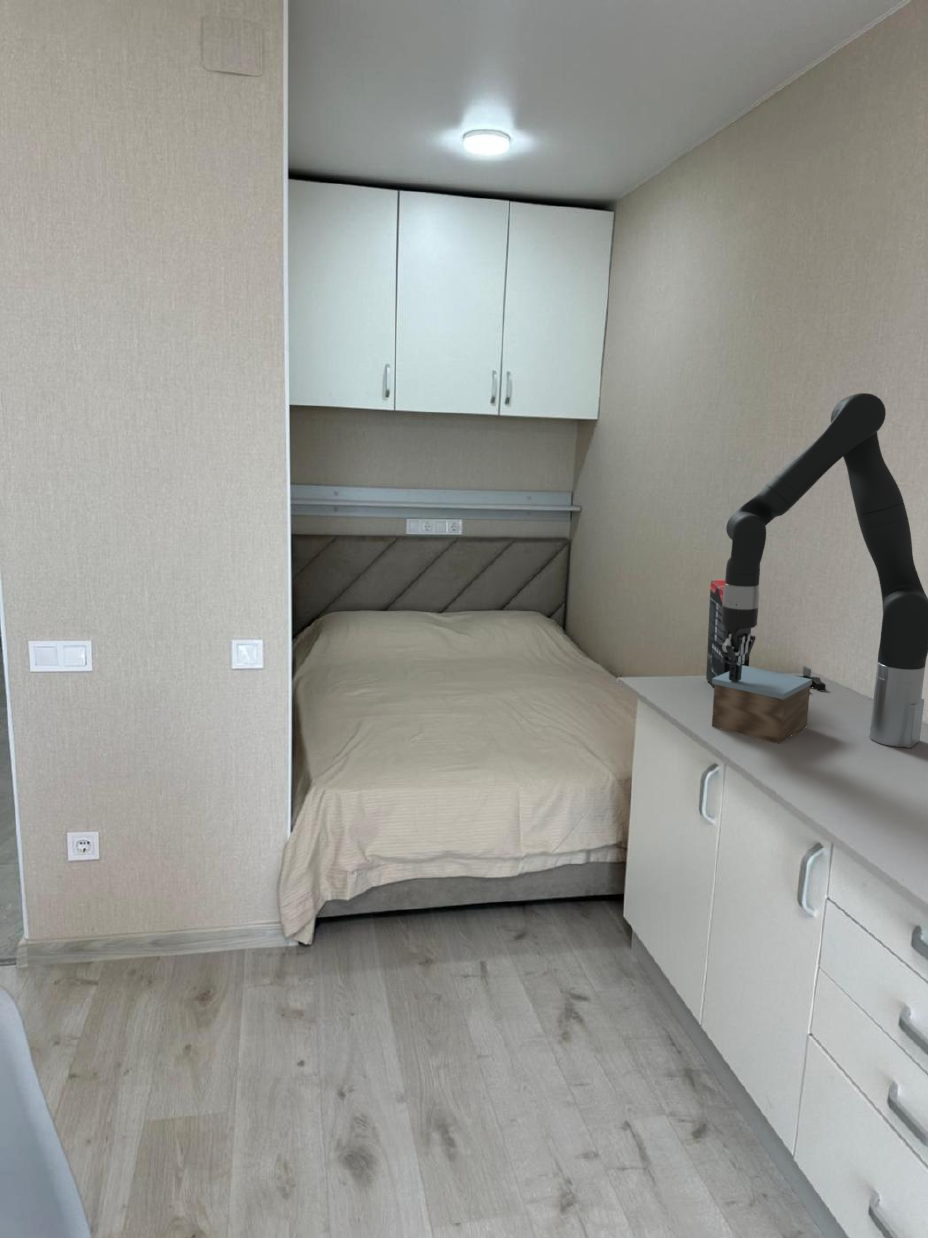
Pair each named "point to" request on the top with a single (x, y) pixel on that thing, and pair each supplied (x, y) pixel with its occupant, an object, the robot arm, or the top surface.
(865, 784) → the top surface
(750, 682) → the lid
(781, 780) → the top surface
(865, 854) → the top surface
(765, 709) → the walnut box
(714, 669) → the graphics card box
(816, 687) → the toy gun
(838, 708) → the top surface
